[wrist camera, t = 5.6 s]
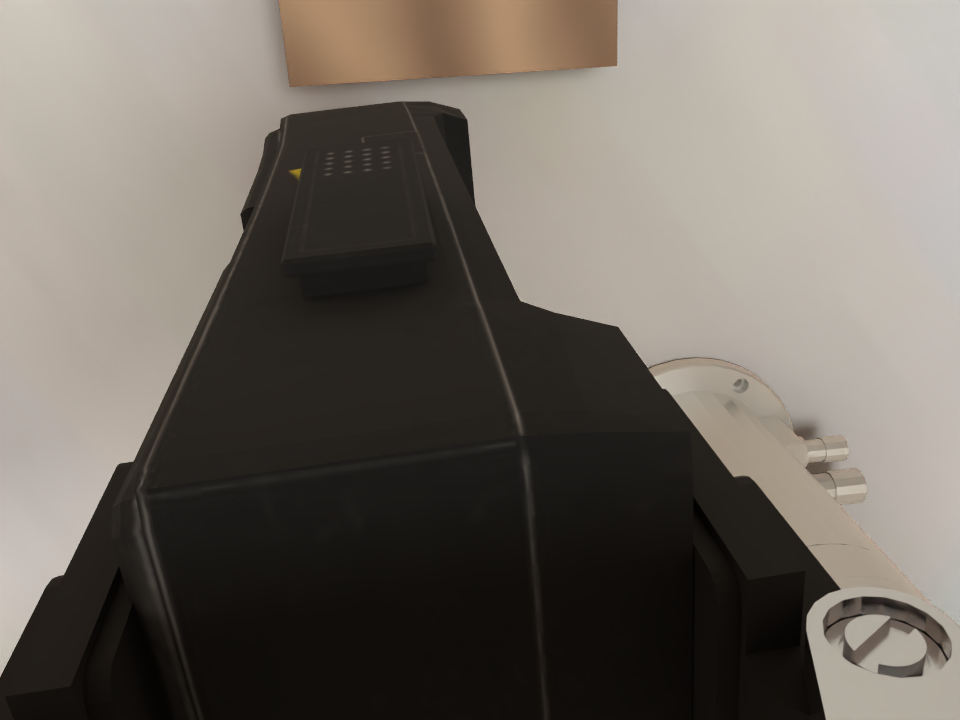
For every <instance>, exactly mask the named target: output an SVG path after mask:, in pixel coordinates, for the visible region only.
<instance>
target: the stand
mask: <svg viewBox="0 0 960 720" xmlns="http://www.w3.org/2000/svg"><path fill="white" fill-rule="evenodd" d="M617 3H618V0H279V7H280V15H281V22H282V30H283V38H284V46H285V54H286V62H287V69H288V77H289V85H290V87H295V86H310V85H326V84H341V83H357V82H373V81H388V80H404V79H420V78H435V77H451V76H467V75H482V74H498V73H514V72H529V71H545V70H561V69H576V68H592V67H607V66H617Z"/></svg>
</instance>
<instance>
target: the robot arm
mask: <svg viewBox="0 0 960 720" xmlns="http://www.w3.org/2000/svg"><path fill="white" fill-rule="evenodd" d="M649 371H650V372H651V374H652V375H653V376H654V378H655V379H656V381H657V382H658V383H659V385H660V386H661V388H662V389H663V390H664V392H665V393H666V394H667V396H668V397H669V399H670V400H671V401H672V403H673V404H674V406H675V407H676V408H677V410H678V411H679V413H680V414H681V416H682V418H683V419H684V421H685V423H686V425H687V426H688V428H689V430H690V433H691V445H692V457H693V470H694V492H693V614H692V720H960V627H959V625H958V624H957V623H956V622H955V621H954V620H953V619H952V618H950V617H949V616H948V615H947V614H945V613H944V612H943V611H942V610H941V609H939V608H937V607H936V606H934V605H932V604H931V603H930V602H929V600H928V599H927V598H926V597H925V596H924V595H923V594H922V593H921V592H920V591H919V590H918V589H917V588H916V587H915V586H914V585H913V583H912V582H911V581H910V580H909V579H908V578H907V577H906V576H905V575H904V574H903V573H902V572H901V571H900V569H899V568H898V567H897V566H896V565H895V564H894V563H893V562H892V561H891V560H890V559H889V558H888V556H887V555H886V554H885V553H884V552H883V551H882V550H881V549H880V548H879V547H878V546H877V545H876V544H875V542H874V541H873V540H872V539H871V538H870V537H869V536H868V535H867V534H866V533H865V532H864V531H863V530H862V528H861V527H860V526H859V525H858V524H857V523H856V522H855V521H854V520H853V519H852V518H851V517H850V515H849V514H848V513H847V512H846V511H845V510H844V509H843V508H842V507H841V506H840V505H843V504H852V503H861V502H863V501H864V500H865V498H866V494H867V488H866V482H865V479H864V476H863V474H862V473H861V471H860V470H858V469H856V468H852V469H843V470H834V471H826V472H824V473H821V474H811V473H810V472H809V471H808V470H807V469H806V467H807V464H808V463H814V462H822V463H826V462H835V461H844V460H846V459H847V457H848V445H847V441H846V440H845V438H844V437H843V436H841V435H839V436H830V437H820V438H818V439H813V440H804V439H803V438H802V437H801V436H797V435H796V434H795V433H794V430H793V427H792V423H791V420H790V416H789V414H788V412H787V410H786V409H785V407H784V405H783V403H782V401H781V400H780V398H779V397H778V396H777V395H776V394H775V393H774V392H773V391H772V390H771V389H770V387H769V386H768V385H766V384H765V383H764V382H763V381H762V380H761V379H759V378H758V377H757V376H756V375H755V374H753V373H751V372H749V371H747V370H746V369H744V368H742V367H740V366H738V365H735V364H732V363H728V362H725V361H721V360H716V359H705V358H691V359H681V360H674V361H671V362H667V363H663V364H660V365H656V366H654V367H652V368H649ZM737 380H738V381H737ZM736 381H737V382H736ZM132 464H133V462H128V463H121V464H119V465H118V466H117V467H116V469H115V471H114V473H113V475H112V477H111V480H110V482H109V484H108V486H107V488H106V490H105V492H104V494H103V496H102V498H101V500H100V502H99V504H98V506H97V508H96V510H95V512H94V514H93V517H92V519H91V521H90V523H89V525H88V527H87V529H86V531H85V533H84V535H83V537H82V539H81V541H80V543H79V545H78V547H77V549H76V551H75V554H74V556H73V558H72V560H71V562H70V564H69V566H68V568H67V570H66V572H65V574H64V575H62V576H58V577H55V578H53V579H52V580H51V581H50V582H49V584H48V585H47V586H46V588H45V590H44V592H43V594H42V596H41V598H40V600H39V602H38V604H37V606H36V608H35V610H34V612H33V614H32V616H31V618H30V620H29V621H28V623H27V625H26V627H25V629H24V631H23V633H22V635H21V637H20V639H19V641H18V643H17V645H16V647H15V649H14V651H13V653H12V655H11V657H10V659H9V661H8V663H7V665H6V667H5V669H4V671H3V673H2V675H1V677H0V720H168V717H167V713H166V710H165V707H164V703H163V700H162V697H161V693H160V690H159V687H158V683H157V680H156V677H155V673H154V670H153V667H152V663H151V660H150V657H149V653H148V650H147V647H146V643H145V640H144V637H143V633H142V630H141V627H140V623H139V620H138V617H137V613H136V610H135V607H134V603H133V602H131V601H130V600H129V597H128V594H127V590H126V587H125V584H124V581H123V577H122V574H121V571H120V567H119V564H118V561H117V558H116V554H115V551H114V548H113V544H112V541H111V534H112V507H113V504H114V502H115V500H116V498H117V496H118V494H119V492H120V490H121V487H122V485H123V483H124V481H125V479H126V477H127V475H128V473H129V470H130V468H131V466H132Z"/></svg>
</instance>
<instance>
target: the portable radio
mask: <svg viewBox="0 0 960 720" xmlns="http://www.w3.org/2000/svg"><path fill="white" fill-rule="evenodd" d="M241 219H242V224H243V229H244V232H243V234H242V237H241V239H240V241H239V243H238V246H237V248H236V250H235V252H234V255H233V257H232V259H231V262H230V263H229V264H228V266H227V267H226V268H225V270H224V271H223V273H222V275H221V277H220V279H219V282H218V284H217V286H216V288H215V290H214V292H213V294H212V296H211V299H210V301H209V303H208V305H207V307H206V309H205V311H204V313H203V316H202V318H201V320H200V322H199V324H198V326H197V328H196V330H195V333H194V335H193V337H192V339H191V341H190V343H189V345H188V347H187V350H186V352H185V354H184V356H183V358H182V360H181V362H180V364H179V366H178V369H177V371H176V373H175V375H174V377H173V379H172V381H171V383H170V386H169V388H168V390H167V392H166V394H165V396H164V398H163V400H162V403H161V405H160V407H159V409H158V411H157V413H156V415H155V417H154V420H153V422H152V424H151V426H150V428H149V430H148V432H147V434H146V437H145V439H144V441H143V443H142V445H141V447H140V449H139V451H138V453H137V456H136V458H135V460H134V462H133V464H132V466H131V468H130V470H129V473H128V475H127V477H126V479H125V481H124V483H123V485H122V487H121V490H120V492H119V494H118V496H117V498H116V500H115V502H114V504H113V507H112V534H111V541H112V544H113V548H114V551H115V554H116V558H117V561H118V564H119V567H120V571H121V574H122V577H123V581H124V584H125V587H126V590H127V594H128V597H129V600H130V601H131V602H133V603H134V607H135V610H136V613H137V617H138V620H139V623H140V627H141V630H142V633H143V637H144V640H145V643H146V647H147V650H148V653H149V657H150V660H151V663H152V667H153V670H154V673H155V677H156V680H157V683H158V687H159V690H160V693H161V697H162V700H163V703H164V707H165V710H166V713H167V717H168V720H692V614H693V492H694V470H693V457H692V445H691V433H690V430H689V428H688V426H687V425H686V423H685V421H684V419H683V418H682V416H681V414H680V413H679V411H678V410H677V408H676V407H675V406H674V404H673V403H672V401H671V400H670V399H669V397H668V396H667V394H666V393H665V392H664V390H663V389H662V388H661V386H660V385H659V383H658V382H657V381H656V379H655V378H654V376H653V375H652V374H651V372H650V371H649V369H648V368H647V367H646V365H645V364H644V363H643V361H642V360H641V358H640V357H639V356H638V354H637V353H636V351H635V350H634V349H633V347H632V346H631V344H630V343H629V342H628V340H627V339H626V338H625V336H624V335H623V333H622V332H621V331H620V329H619V328H618V327H616V326H611V325H607V324H602V323H598V322H593V321H589V320H584V319H580V318H576V317H571V316H567V315H562V314H558V313H554V312H551V311H548V310H545V309H542V308H539V307H536V306H533V305H530V304H527V303H524V302H521V301H520V300H519V298H518V296H517V294H516V292H515V290H514V287H513V285H512V283H511V281H510V279H509V277H508V275H507V273H506V271H505V268H504V266H503V264H502V262H501V260H500V258H499V256H498V254H497V252H496V249H495V247H494V245H493V243H492V241H491V239H490V237H489V235H488V233H487V230H486V228H485V226H484V224H483V222H482V220H481V218H480V216H479V214H478V211H477V209H476V207H475V199H474V188H473V177H472V167H471V156H470V145H469V134H468V123H467V119H466V118H465V116H464V115H463V113H462V112H461V110H459V109H456V108H452V107H448V106H444V105H440V104H436V103H432V102H392V103H383V104H375V105H367V106H358V107H350V108H341V109H333V110H325V111H316V112H308V113H300V114H291V115H288V116H286V117H284V118H282V119H281V124H280V129H278V130H276V131H274V132H271V133H269V134H268V136H267V137H266V139H265V143H264V151H263V156H262V160H261V163H260V166H259V169H258V173H257V175H256V178H255V180H254V183H253V185H252V187H251V190H250V192H249V195H248V197H247V200H246V202H245V205H244V207H243V210H242V212H241Z"/></svg>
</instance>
